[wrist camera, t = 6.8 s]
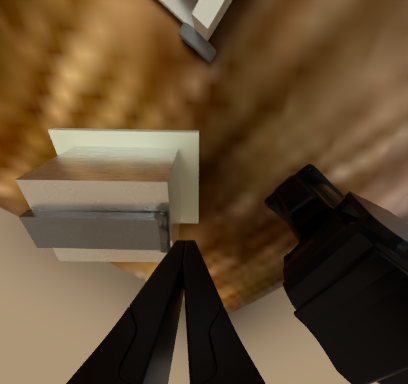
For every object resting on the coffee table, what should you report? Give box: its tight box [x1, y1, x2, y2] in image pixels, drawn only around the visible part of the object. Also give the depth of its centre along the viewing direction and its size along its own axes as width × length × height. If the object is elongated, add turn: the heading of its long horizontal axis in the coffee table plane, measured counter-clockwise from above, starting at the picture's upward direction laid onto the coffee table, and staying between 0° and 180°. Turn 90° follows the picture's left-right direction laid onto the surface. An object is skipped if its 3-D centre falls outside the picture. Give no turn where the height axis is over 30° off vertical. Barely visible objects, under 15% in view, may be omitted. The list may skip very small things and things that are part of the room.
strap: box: [19, 210, 171, 253], centre depth 15 cm, size 10×3×1 cm, turn 89°
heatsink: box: [16, 146, 182, 262], centre depth 18 cm, size 11×8×7 cm
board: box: [48, 128, 199, 223], centre depth 21 cm, size 14×11×1 cm
